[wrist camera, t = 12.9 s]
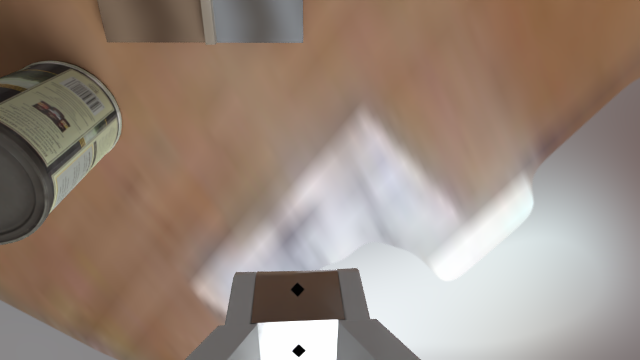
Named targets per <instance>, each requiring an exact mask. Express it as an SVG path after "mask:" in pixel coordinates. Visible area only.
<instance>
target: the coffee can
mask: <svg viewBox="0 0 640 360" xmlns="http://www.w3.org/2000/svg"><path fill="white" fill-rule="evenodd" d="M121 128H122V119H121V114H120V110H119V107H118V105H117V102H116V100H115V99H114V97H113V95H112V94H111V93H110V91H109V90H108V89H107V88H106V86H105V85H104V84H103V83H102V82H101V81H99V80H98V79H97V78H96V77H95V76H93V75H92V74H90V73H89V72H87V71H85V70H83V69H81V68H79V67H78V66H75V65H72V64H68V63H65V62H59V61H42V62H37V63H33V64H30V65H28V66H26V67H25V68H23V69H21V70H19V71H16V72H14V73H11V74H9V75H6V76H4V77H1V78H0V245H3V244H8V243H13V242H16V241H19V240H22V239H24V238H26V237H28V236H29V235H31V234H32V233H34V232H35V231H36V230H37V229H38V228H39V227H40V226H41V225H42V224H43V222H44V221H45V219H46V218H47V217H48V215H49V213H50V212H51V211H52V210H53V209H54V208H55V207H56V206H57V205H58V204H59V203H60V202H61V201H62V200H63V199H64V198H65V197H66V195H67V194H68V193H69V192H70V191H71V190H72V189H73V188H74V187H75V186H76V185H77V184H78V183H79V182H80V181H81V180H82V179H83V178H84V177H85V175H86V174H87V173H88V172H89V171H90V170H91V169H92V168H93V167H94V166H95V165H96V164H97V163H98V162H99V161H100V160H101V159H102V158H103V156H104V155H105V154H107V153H108V152H109V151H110V150H111V149H113V147H114V146H115V145H116V143H117V141H118V139H119V137H120V135H121Z"/></svg>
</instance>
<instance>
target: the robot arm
mask: <svg viewBox="0 0 640 360" xmlns="http://www.w3.org/2000/svg"><path fill="white" fill-rule="evenodd" d="M185 360H421V359H419V358H418V357H417V356H416V355H415V354H414V353H413V352H412V351H411V350H409V349H408V348H407V347H406V346H405V345H404V344H403V343H402V342H401V341H400V340H399V339H398V338H396V337H395V336H394V335H393V334H392V333H391V332H390V331H389V330H387V328H386V327H384V326H383V325H382V324H381V323H380V322H379V321H378V320H377V319H370V317H369V312H368V308H367V304H366V299H365V295H364V291H363V286H362V282H361V278H360V274H359V270H358V269H356V268H352V269H337V270H315V271H277V272H236V273H235V275H234V277H233V283H232V288H231V294H230V299H229V305H228V310H227V316H226V321H225V325H223V326H218V327H217V328H216V329H215V330H214V331H213V332H212V333H211V334H210V335H209V336H208V337H207V338H206V339H205V340H204V341H203V342H202V343H201V344H200V345H199V346H198V347H197V348H196V349H195V350H194V351H193V352H192V353H191V354H190V355H189V356H188V357H187V358H186V359H185Z"/></svg>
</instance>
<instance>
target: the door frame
mask: <svg viewBox="0 0 640 360" xmlns="http://www.w3.org/2000/svg"><path fill="white" fill-rule="evenodd" d="M97 1H98V5H99V9H100V14H101V18H102V22H103V26H104V31H105V35H106V39H107V42H206V44H216V43H217V42H238V43H303V0H97Z"/></svg>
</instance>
